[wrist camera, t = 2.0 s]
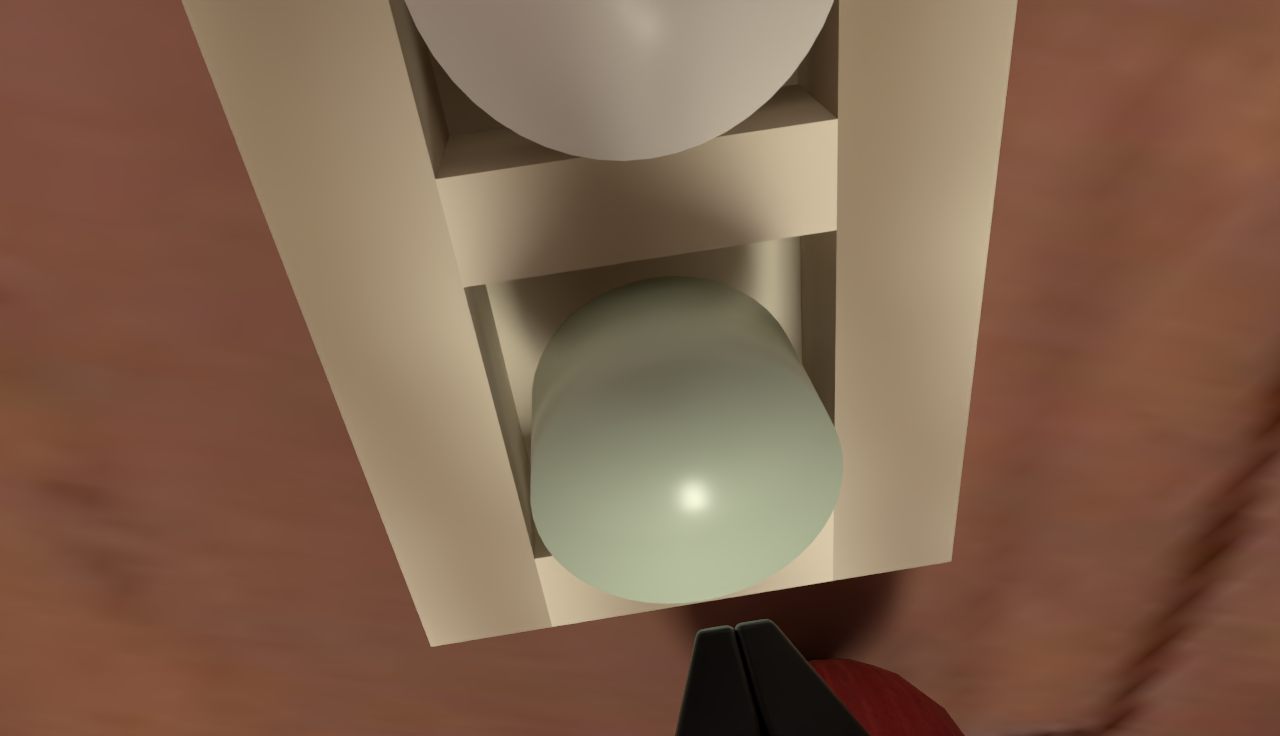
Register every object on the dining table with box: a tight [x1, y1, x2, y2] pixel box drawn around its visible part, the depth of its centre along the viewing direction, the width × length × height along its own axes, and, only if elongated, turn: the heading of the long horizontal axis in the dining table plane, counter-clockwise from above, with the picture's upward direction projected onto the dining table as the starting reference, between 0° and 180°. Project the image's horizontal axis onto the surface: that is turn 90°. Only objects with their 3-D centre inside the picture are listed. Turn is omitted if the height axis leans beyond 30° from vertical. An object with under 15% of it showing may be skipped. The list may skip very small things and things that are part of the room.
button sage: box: [530, 276, 843, 604], centre depth 12 cm, size 4×4×2 cm
